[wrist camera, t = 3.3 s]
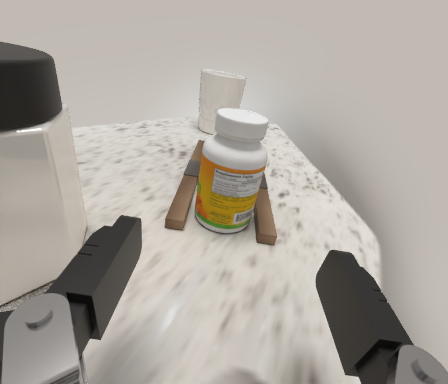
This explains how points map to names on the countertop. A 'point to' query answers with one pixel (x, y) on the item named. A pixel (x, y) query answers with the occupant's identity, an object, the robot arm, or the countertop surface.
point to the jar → (35, 175)
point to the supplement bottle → (231, 170)
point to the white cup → (218, 96)
